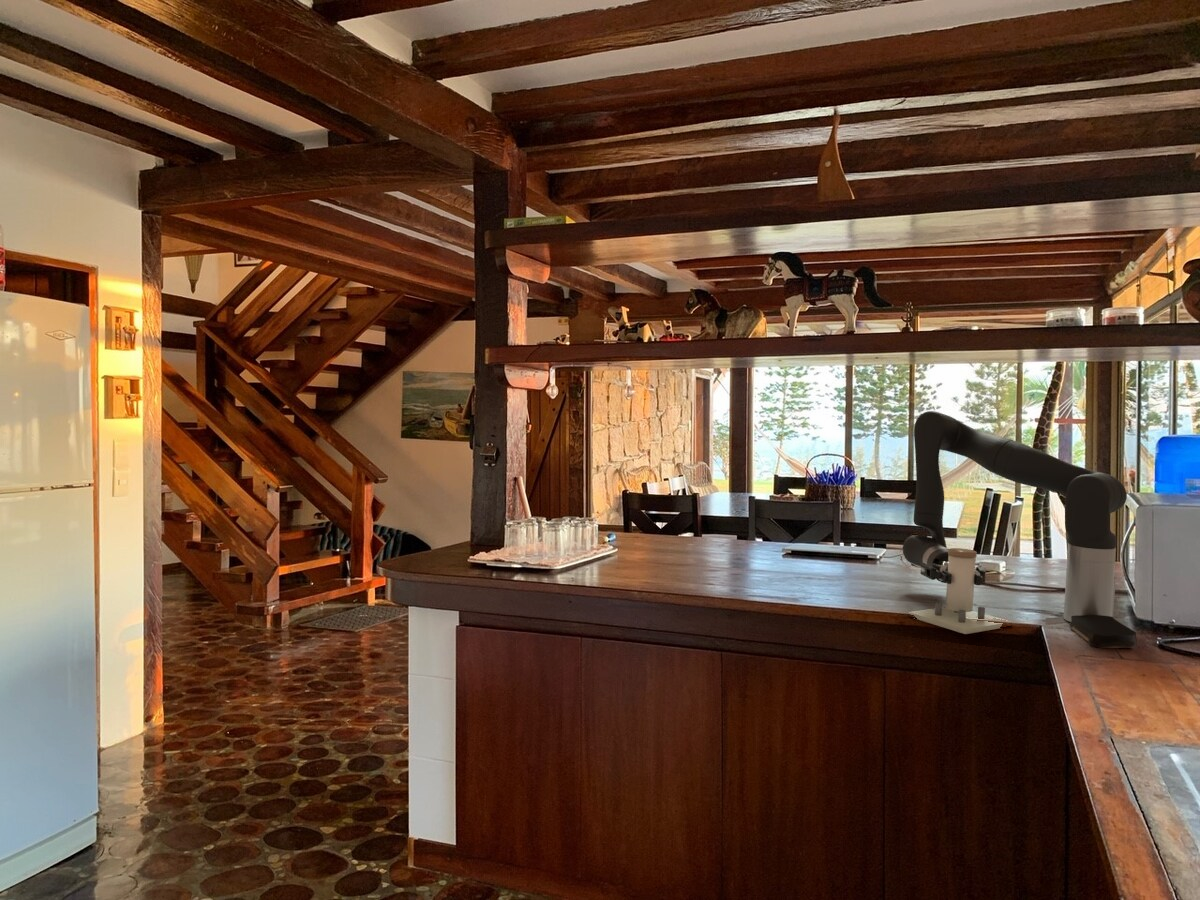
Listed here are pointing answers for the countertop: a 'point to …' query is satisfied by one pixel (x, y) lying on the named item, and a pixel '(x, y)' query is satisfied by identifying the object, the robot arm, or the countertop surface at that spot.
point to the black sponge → (1103, 631)
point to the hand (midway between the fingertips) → (964, 580)
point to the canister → (961, 579)
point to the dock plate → (957, 619)
